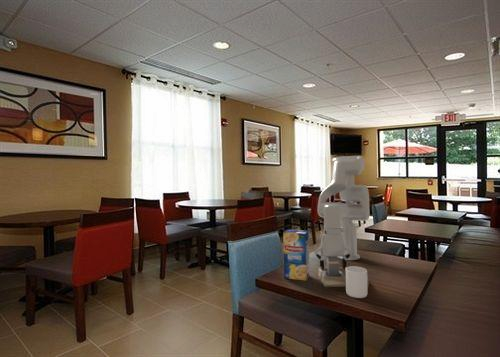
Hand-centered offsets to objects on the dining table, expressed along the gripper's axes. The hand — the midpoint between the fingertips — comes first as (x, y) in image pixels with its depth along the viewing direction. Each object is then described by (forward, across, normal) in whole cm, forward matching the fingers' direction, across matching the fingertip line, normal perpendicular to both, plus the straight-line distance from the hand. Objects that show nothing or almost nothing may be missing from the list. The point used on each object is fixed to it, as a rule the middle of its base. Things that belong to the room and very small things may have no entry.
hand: (333, 268), depth 135 cm
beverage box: (+6, +16, -6) cm, 18 cm away
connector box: (+6, -4, 0) cm, 7 cm away
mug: (+6, -6, +13) cm, 16 cm away
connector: (+5, 0, 0) cm, 5 cm away
